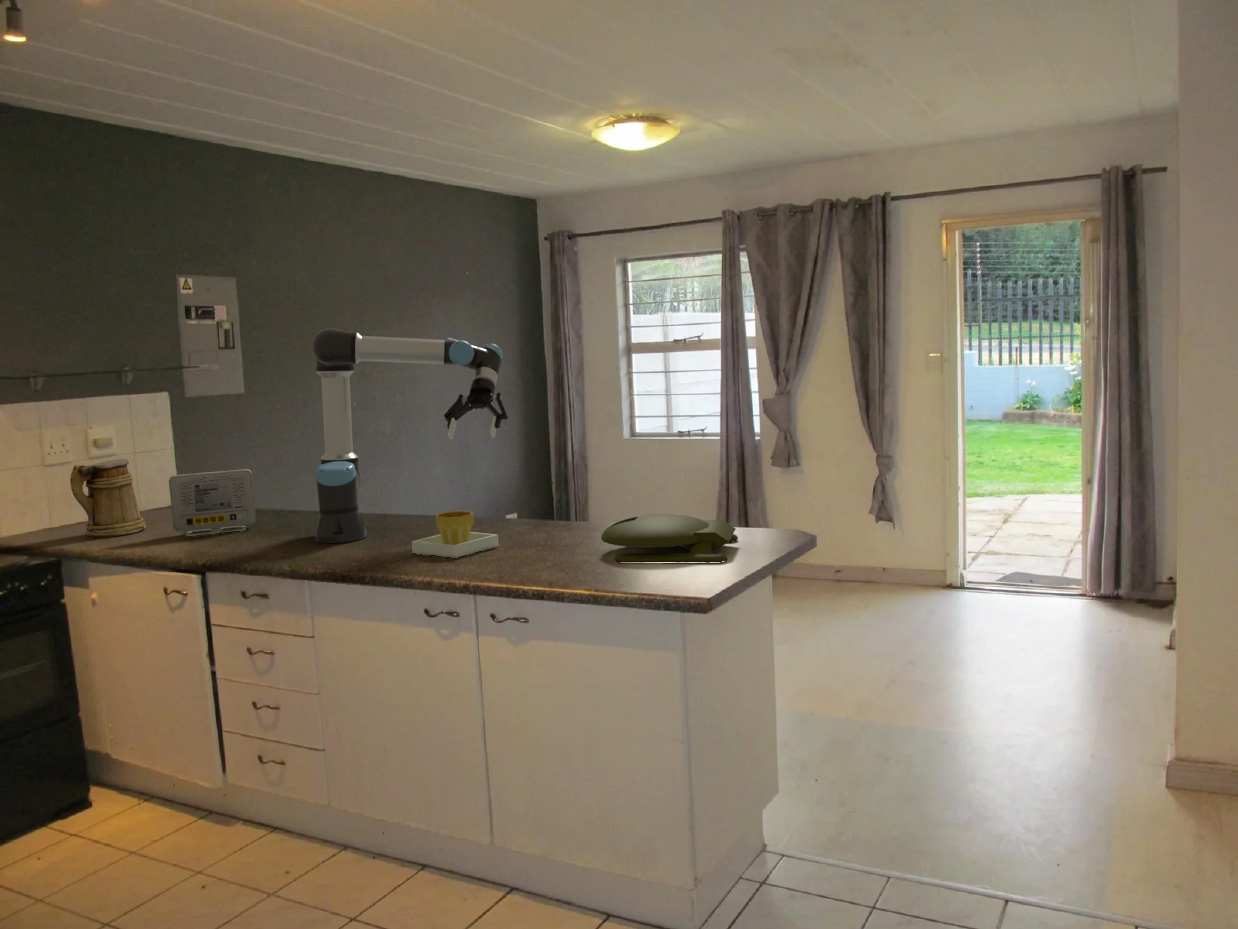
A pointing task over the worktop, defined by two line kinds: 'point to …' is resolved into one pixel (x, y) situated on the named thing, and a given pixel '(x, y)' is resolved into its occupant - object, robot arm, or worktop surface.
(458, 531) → the plant pot
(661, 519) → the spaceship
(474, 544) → the tray
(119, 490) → the tankard
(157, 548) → the worktop surface
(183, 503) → the network device
